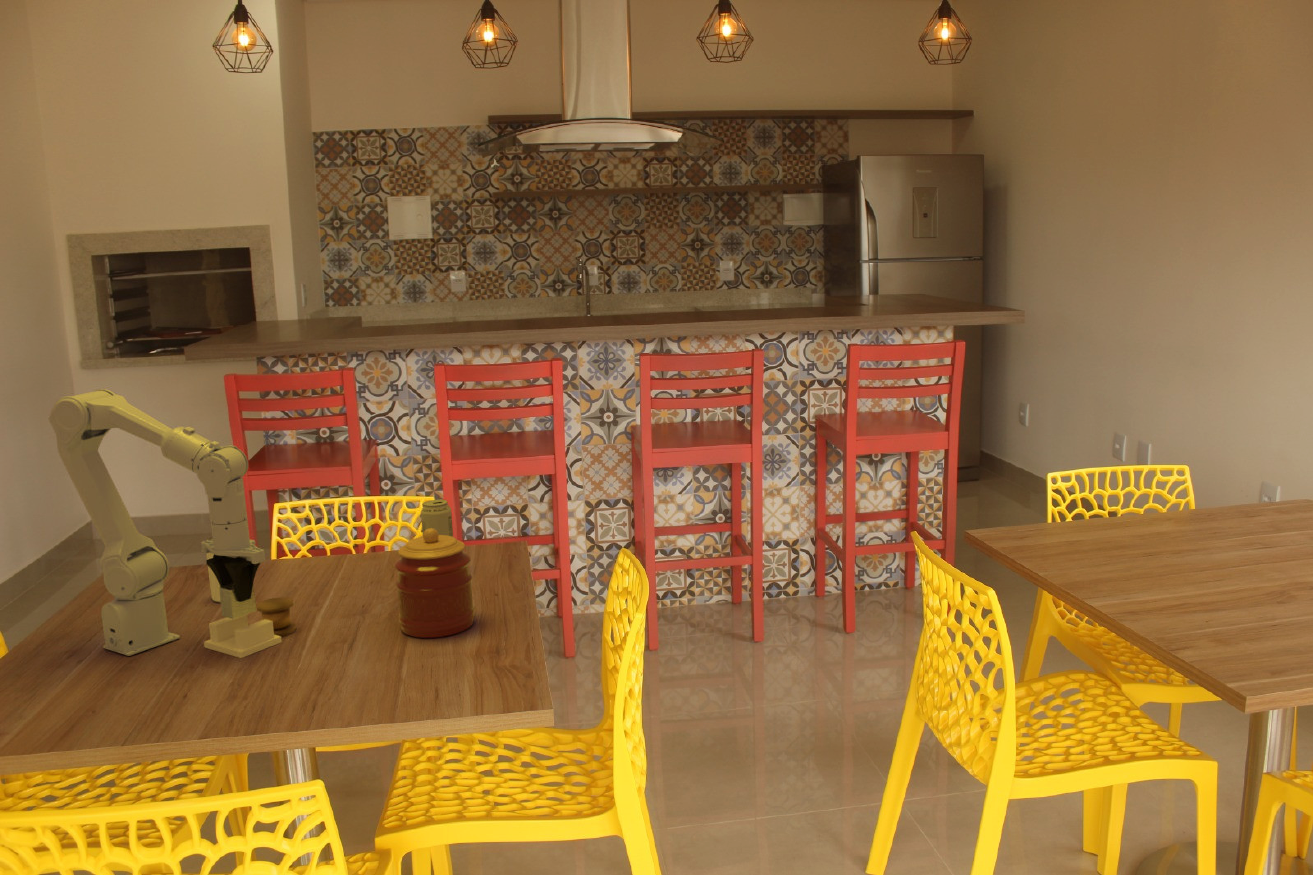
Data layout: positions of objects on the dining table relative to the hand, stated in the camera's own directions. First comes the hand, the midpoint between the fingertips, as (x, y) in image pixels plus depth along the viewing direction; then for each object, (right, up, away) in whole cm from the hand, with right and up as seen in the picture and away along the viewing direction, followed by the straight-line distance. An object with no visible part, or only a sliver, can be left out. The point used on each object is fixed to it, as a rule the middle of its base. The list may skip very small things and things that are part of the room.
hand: (238, 598), depth 178 cm
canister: (+32, -6, +7) cm, 34 cm away
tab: (0, -3, 0) cm, 3 cm away
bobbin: (+4, -7, +7) cm, 11 cm away
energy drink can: (+27, -1, +37) cm, 45 cm away
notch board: (0, -8, +2) cm, 8 cm away
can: (-12, -4, +27) cm, 30 cm away
